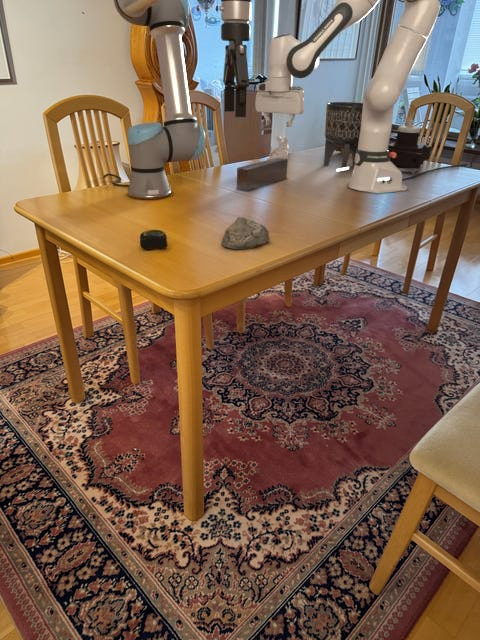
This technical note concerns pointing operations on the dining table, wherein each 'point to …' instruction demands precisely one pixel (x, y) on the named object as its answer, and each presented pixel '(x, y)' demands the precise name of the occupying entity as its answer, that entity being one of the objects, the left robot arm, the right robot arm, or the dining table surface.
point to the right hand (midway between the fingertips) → (278, 125)
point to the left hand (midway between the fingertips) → (234, 114)
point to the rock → (245, 234)
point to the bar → (261, 174)
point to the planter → (342, 129)
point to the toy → (341, 150)
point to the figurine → (280, 149)
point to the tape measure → (153, 239)
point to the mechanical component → (409, 148)
